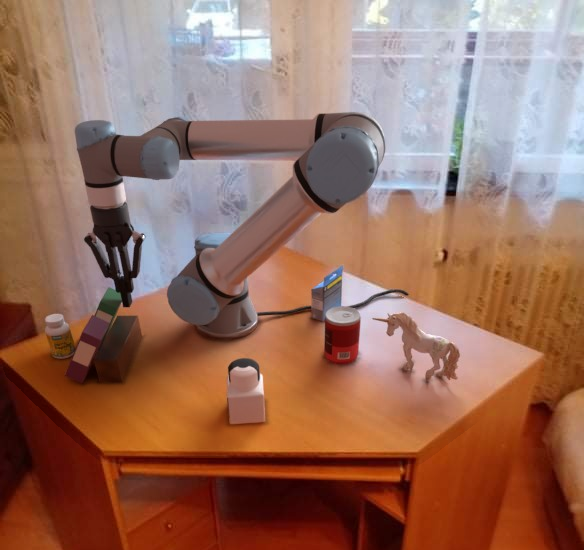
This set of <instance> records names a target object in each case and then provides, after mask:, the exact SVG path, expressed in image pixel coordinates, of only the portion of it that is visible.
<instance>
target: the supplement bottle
mask: <svg viewBox="0 0 584 550" xmlns="http://www.w3.org/2000/svg"><path fill="white" fill-rule="evenodd" d="M44 323H45V325H46V326H45V328H44V333H45V336H46V339H47V342H48V345H49V348H50V351H51V354H52V357H54V358H55V359H59V360H63V359H69V358H72V356H73V353H74V351H75V348H76V345H75V342H74V338H73V334H72V331H71V328H70V325H69V323H68V322H66V321H65V318H64V315H63V314H62V313H53V314H49V315H47V316H46V317H45V318H44Z"/></svg>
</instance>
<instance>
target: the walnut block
mask: <svg viewBox="0 0 584 550" xmlns="http://www.w3.org/2000/svg"><path fill="white" fill-rule="evenodd" d="M142 339H143V335H142V329H141V325H140V319H139V315H116V317H115V319H114V321H113V324H112V326H111V328H110V330H109V332H108V334H107V336H106V338H105V340H104V342H103V344H102V346H101V348H100V350H99V351H98V352H97V354H96V357H95V359H94V361H93V363H94V366H95V370H96V374H97V379H98V382H99V383H101V384H122V383H123V382H124V380H125V377H126V375H127V373H128V371H129V368H130V366H131V363H132V361H133V359H134V356H135V354H136V351H137V350H138V347H139V344H140V343H141V340H142Z"/></svg>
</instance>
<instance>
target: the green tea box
mask: <svg viewBox="0 0 584 550" xmlns="http://www.w3.org/2000/svg"><path fill="white" fill-rule="evenodd" d="M121 306H122V299H121V294H120V293H117V292H116V290H115V288H112V287H110V286H108V288H107V289H106V291H105V292H104V294H103V296H102V298H101V299H100V301H99V304H98V306H97V308H96V310H95V313H94V316H96V317H98V318H100V319H102V320H105V321H107V322H109V323H110V324H109V327H108V329H107V331H106V334H105V336H104V338H103V340H102V343H101V345H100V347H99V350H100V348H101V346H102V344H103V342H104V340H105V338H106V336H107V334H108V332H109V330H110V328H111V327H112V325H113V323H114V321H115V319H116V317H117V314H118V312H119V310H120V307H121ZM99 350H98V351H99Z"/></svg>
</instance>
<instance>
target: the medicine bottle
mask: <svg viewBox="0 0 584 550" xmlns="http://www.w3.org/2000/svg"><path fill="white" fill-rule="evenodd" d="M227 373H228V375H227V376H226V402H227V411H228V421H229V423H228V424H229V425H243V424H256V423H257V424H258V423H265V422H266V409H265V390H264V389H265V388H264V376H263V374H262V373H261V372H260V364H259V363H258V362H257V361H256V360H255V359H253V358H248V357H242V358H237V359H235V360H232V361H231V362H230V364H229V365H228V367H227Z"/></svg>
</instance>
